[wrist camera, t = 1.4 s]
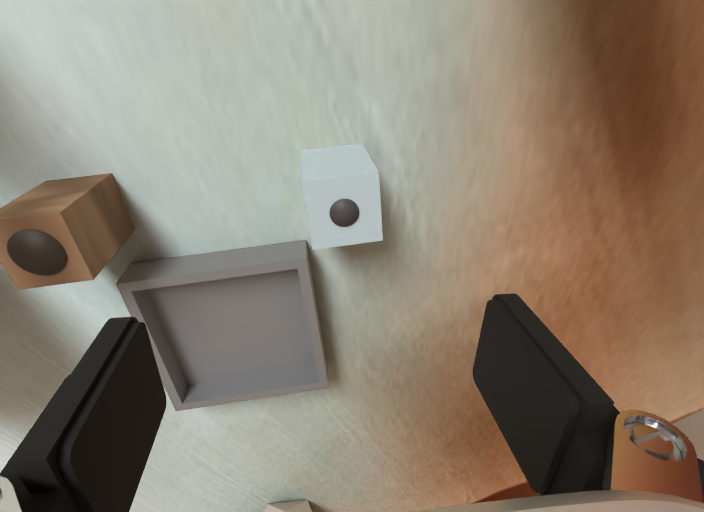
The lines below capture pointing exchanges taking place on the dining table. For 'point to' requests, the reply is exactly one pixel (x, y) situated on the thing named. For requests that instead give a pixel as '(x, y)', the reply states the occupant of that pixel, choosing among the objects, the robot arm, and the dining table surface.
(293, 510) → the die
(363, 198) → the grey rectangular block
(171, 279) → the tray
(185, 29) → the dining table surface
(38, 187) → the walnut block
